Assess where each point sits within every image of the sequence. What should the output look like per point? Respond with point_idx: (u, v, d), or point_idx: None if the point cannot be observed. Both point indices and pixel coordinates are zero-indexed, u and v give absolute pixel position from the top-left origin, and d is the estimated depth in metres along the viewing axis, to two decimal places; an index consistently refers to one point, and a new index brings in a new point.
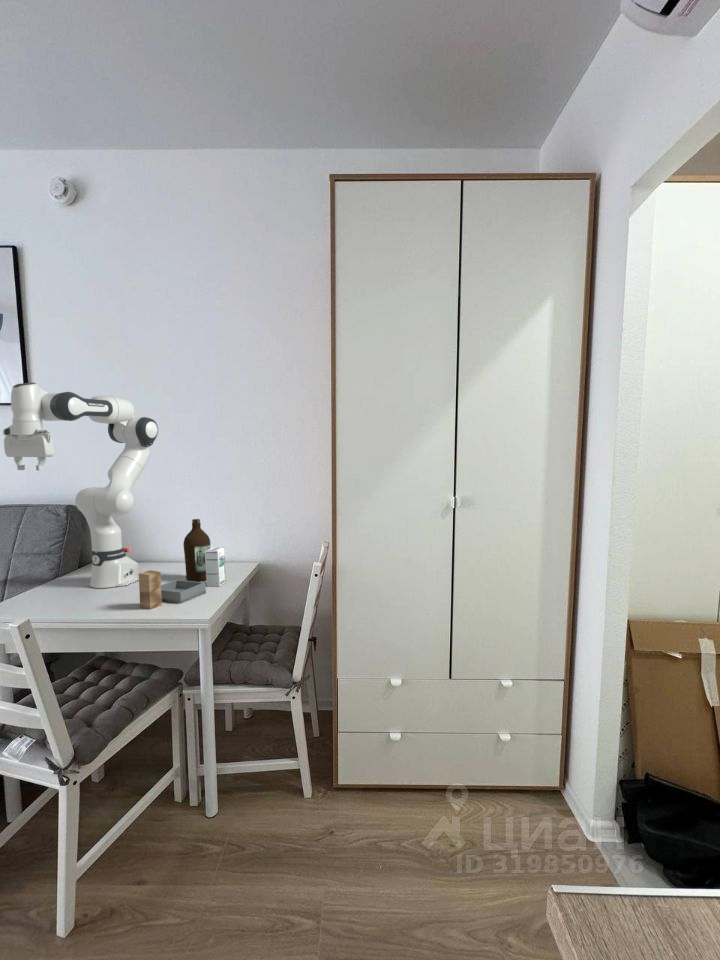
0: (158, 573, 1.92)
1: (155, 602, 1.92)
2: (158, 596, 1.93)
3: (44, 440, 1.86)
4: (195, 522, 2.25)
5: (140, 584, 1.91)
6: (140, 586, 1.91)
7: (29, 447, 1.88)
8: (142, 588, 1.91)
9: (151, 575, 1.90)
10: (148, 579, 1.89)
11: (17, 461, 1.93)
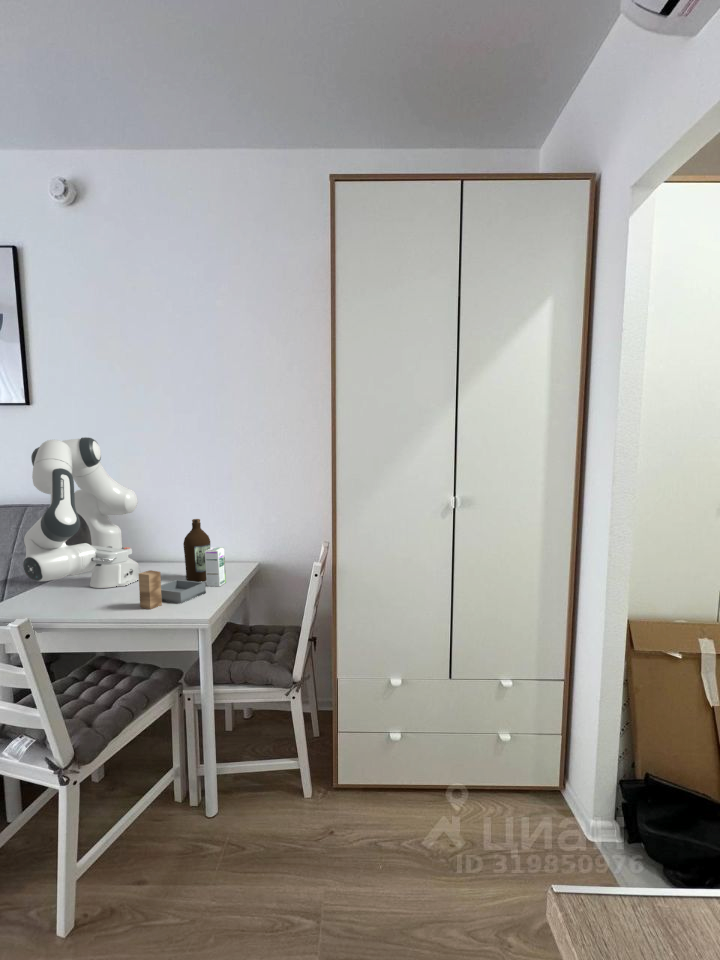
0: (158, 573, 1.92)
1: (155, 602, 1.92)
2: (158, 596, 1.93)
3: (113, 562, 1.68)
4: (195, 522, 2.25)
5: (140, 584, 1.91)
6: (140, 586, 1.91)
7: None
8: (142, 588, 1.91)
9: (151, 575, 1.90)
10: (148, 579, 1.89)
11: None
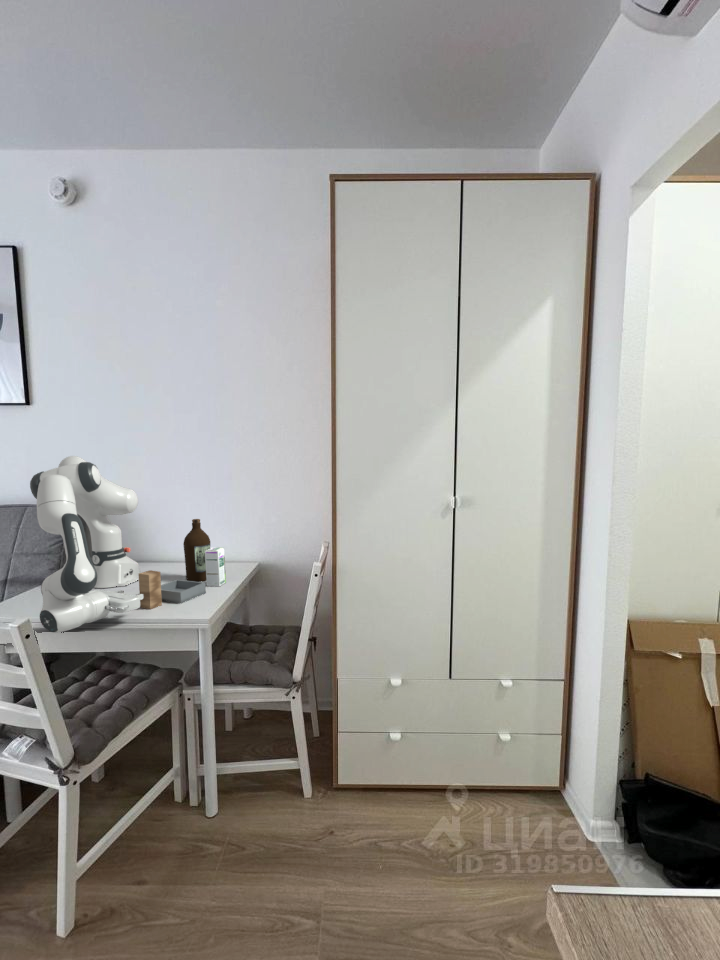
0: (158, 573, 1.92)
1: (155, 602, 1.92)
2: (158, 596, 1.93)
3: (126, 610, 1.73)
4: (195, 522, 2.25)
5: (140, 584, 1.91)
6: (140, 586, 1.91)
7: None
8: (142, 588, 1.91)
9: (151, 575, 1.90)
10: (148, 579, 1.89)
11: None
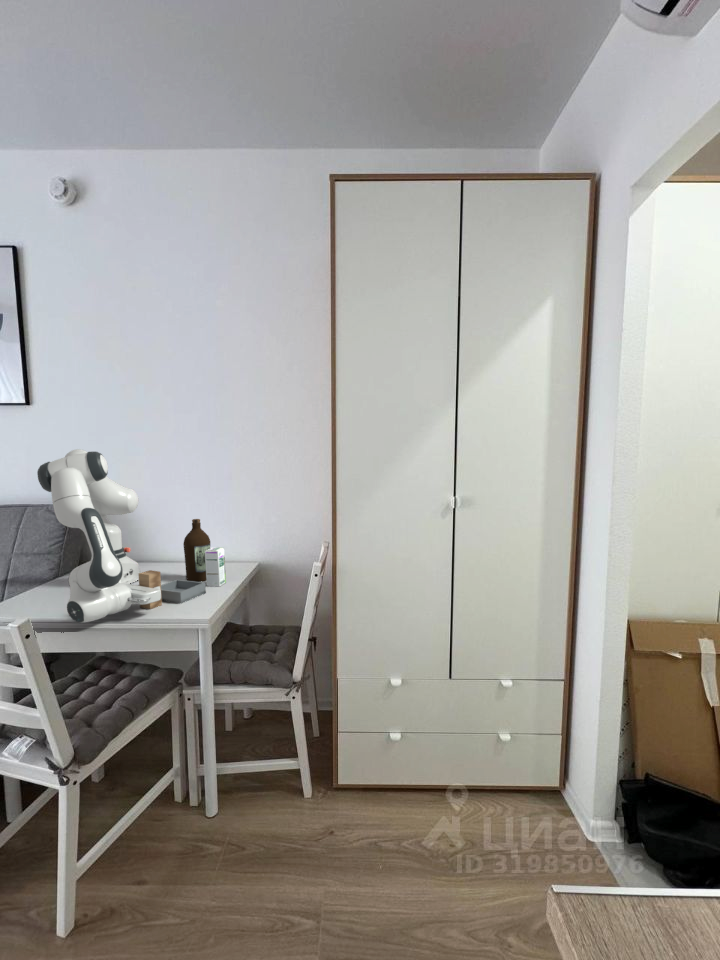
0: (158, 573, 1.92)
1: (155, 602, 1.92)
2: None
3: (148, 602, 1.80)
4: (195, 522, 2.25)
5: (140, 584, 1.91)
6: None
7: None
8: None
9: (151, 575, 1.90)
10: (148, 579, 1.89)
11: None
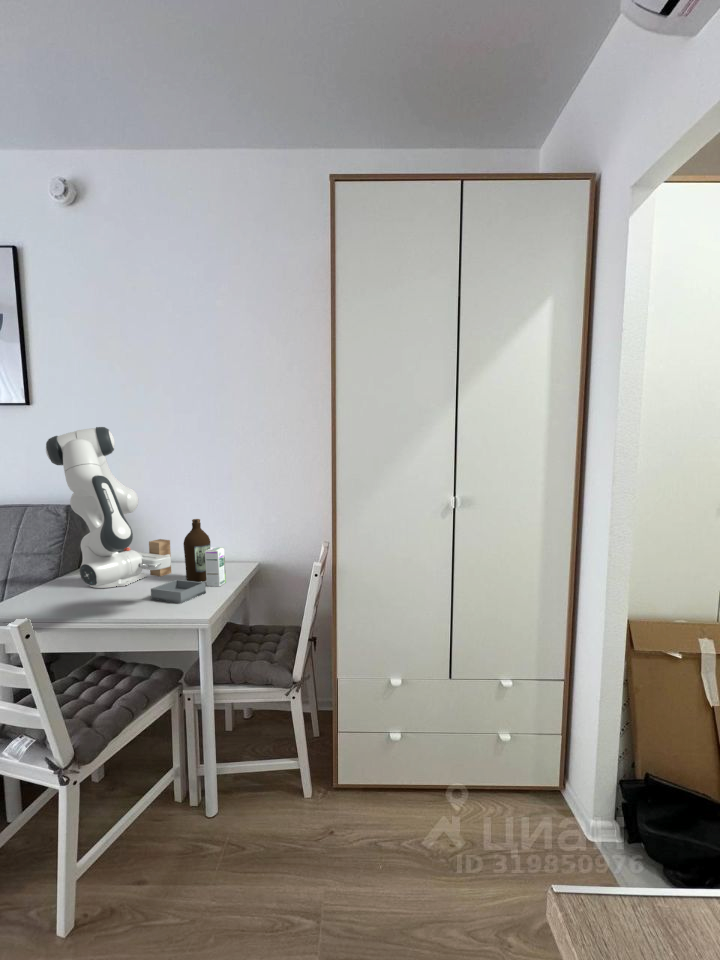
0: (168, 541, 1.96)
1: (165, 569, 1.95)
2: None
3: (158, 568, 1.84)
4: (195, 522, 2.25)
5: (150, 551, 1.95)
6: None
7: None
8: None
9: (161, 543, 1.93)
10: (158, 546, 1.93)
11: None
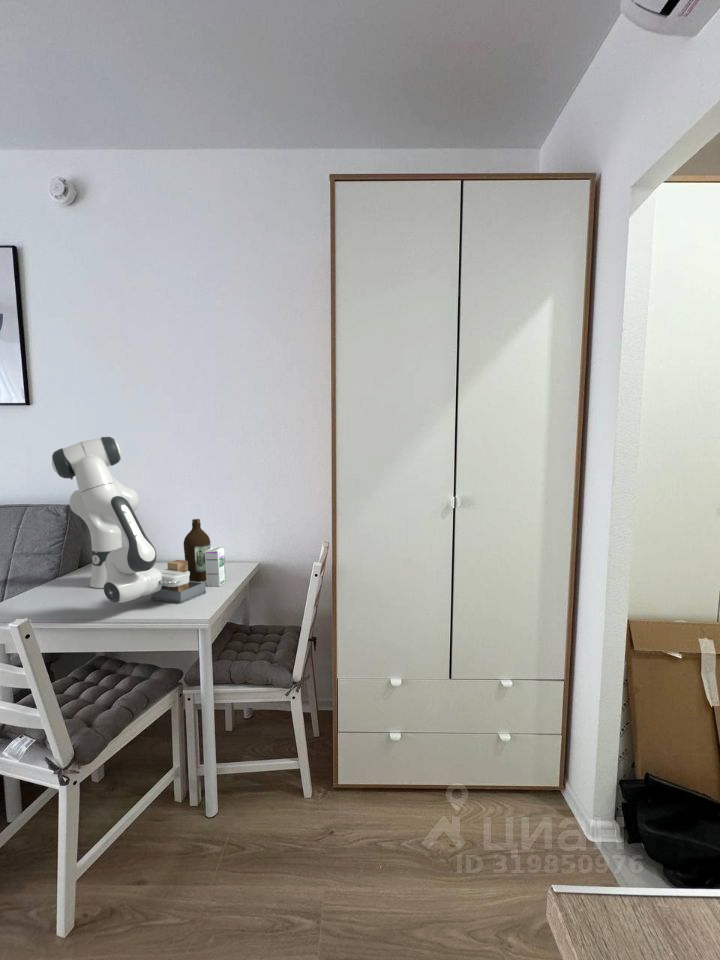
0: (185, 562, 2.04)
1: (183, 589, 2.03)
2: (185, 584, 2.04)
3: (178, 584, 1.91)
4: (195, 522, 2.25)
5: None
6: None
7: None
8: None
9: (179, 564, 2.01)
10: (176, 567, 2.00)
11: None
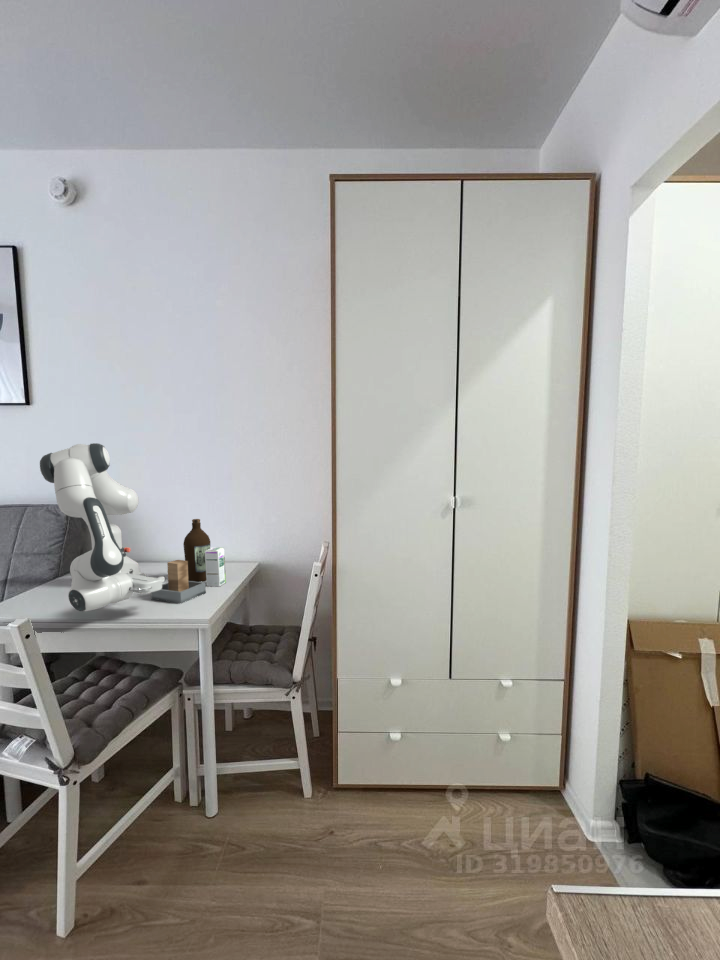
0: (185, 562, 2.04)
1: (183, 589, 2.03)
2: (185, 584, 2.04)
3: (149, 591, 1.81)
4: (195, 522, 2.25)
5: (169, 572, 2.03)
6: (169, 574, 2.03)
7: None
8: (171, 576, 2.02)
9: (179, 564, 2.01)
10: (176, 567, 2.00)
11: None
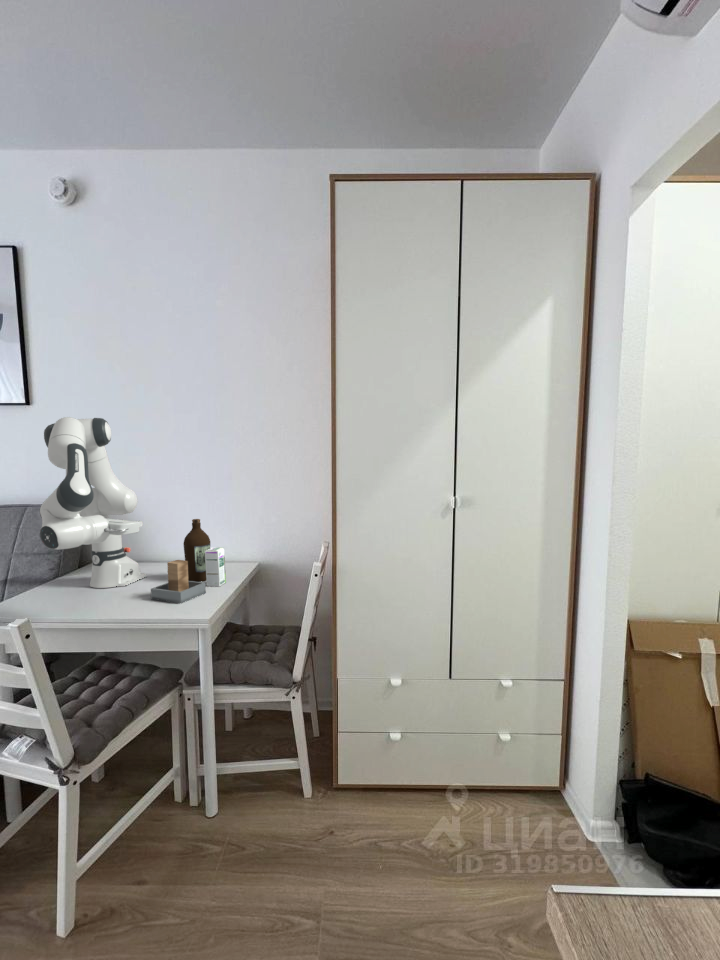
0: (185, 562, 2.04)
1: (183, 589, 2.03)
2: (185, 584, 2.04)
3: (126, 533, 1.75)
4: (195, 522, 2.25)
5: (169, 572, 2.03)
6: (169, 574, 2.03)
7: None
8: (171, 576, 2.02)
9: (179, 564, 2.01)
10: (176, 567, 2.00)
11: None
